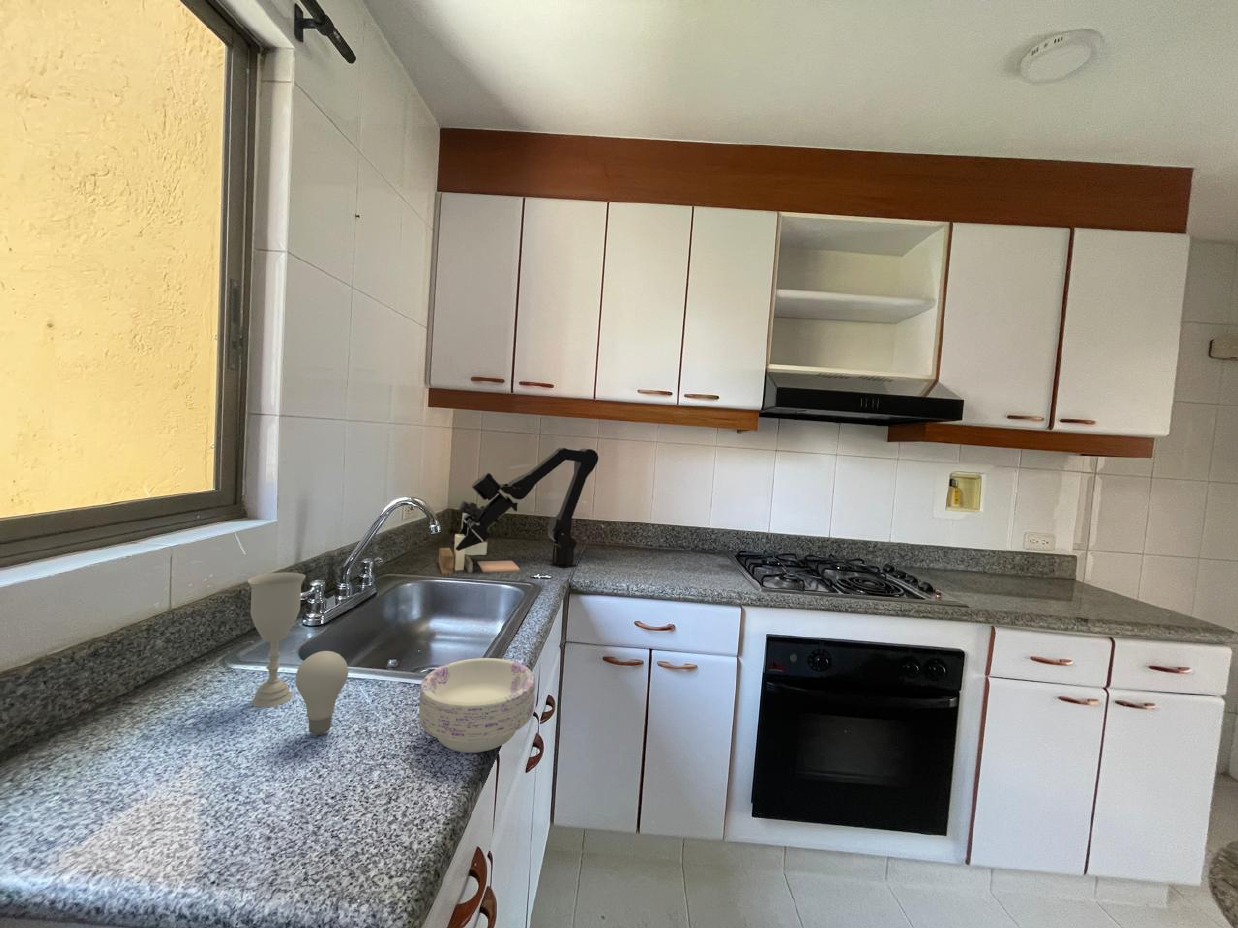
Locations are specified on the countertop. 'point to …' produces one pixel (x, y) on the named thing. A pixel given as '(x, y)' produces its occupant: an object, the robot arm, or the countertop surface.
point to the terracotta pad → (498, 566)
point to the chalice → (274, 626)
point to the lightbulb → (321, 687)
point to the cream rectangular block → (458, 553)
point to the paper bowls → (476, 703)
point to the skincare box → (476, 546)
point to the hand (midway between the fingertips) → (454, 546)
